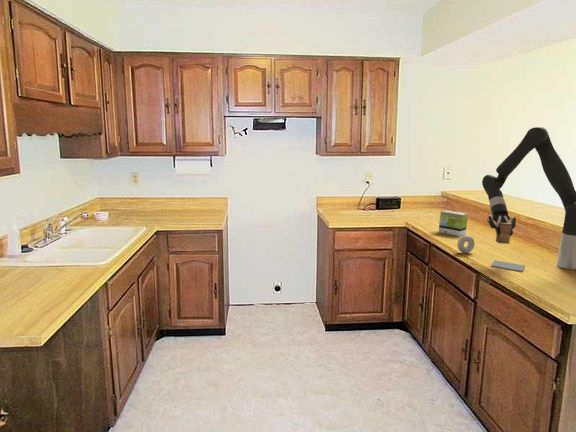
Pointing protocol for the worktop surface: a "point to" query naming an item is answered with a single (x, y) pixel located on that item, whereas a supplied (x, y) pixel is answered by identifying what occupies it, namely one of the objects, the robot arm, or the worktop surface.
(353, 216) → the worktop surface
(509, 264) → the rubber mat
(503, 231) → the walnut block
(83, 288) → the worktop surface
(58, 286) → the worktop surface
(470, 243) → the donut
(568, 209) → the robot arm
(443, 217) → the tea box
